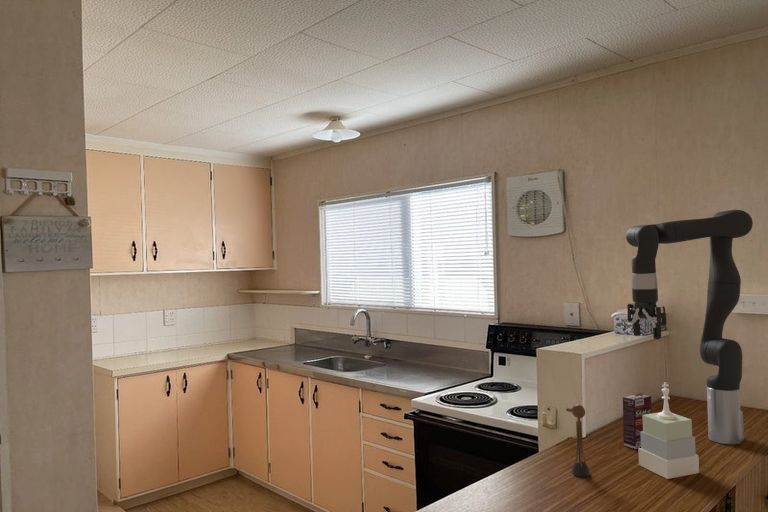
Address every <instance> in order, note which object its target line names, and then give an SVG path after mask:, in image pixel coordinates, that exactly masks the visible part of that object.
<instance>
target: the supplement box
mask: <svg viewBox="0 0 768 512" xmlns="http://www.w3.org/2000/svg"><path fill="white" fill-rule="evenodd" d="M652 413H653V412H652V396H651V395H648V394H646V393H645V394H644V393H636V394H631V395H628V396H623V397H622V421H623V423H622V424H623V425H622V426H623V427H622V428H623V429H622V430H623V431H622V432H623V446H624V447H625V446H626V447H628V448H630V449H633V448H634V449H633V450H637V449H638V448H640V447H641V436H640V432H641V431H643V418H642V415H646V414H652Z"/></svg>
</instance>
